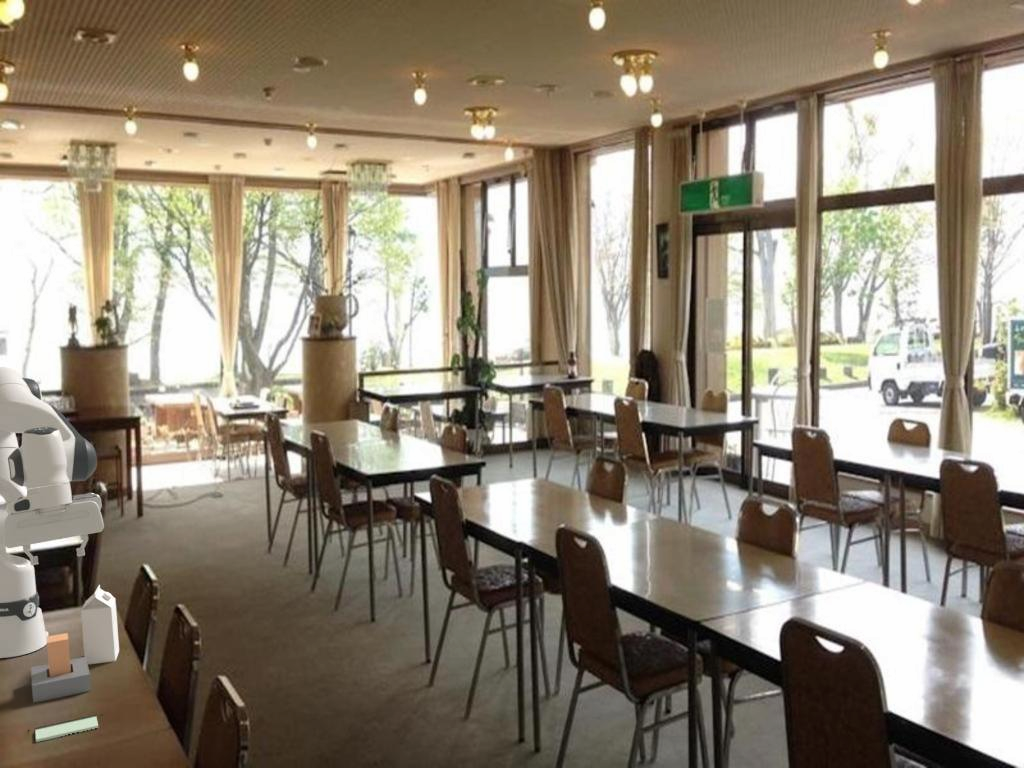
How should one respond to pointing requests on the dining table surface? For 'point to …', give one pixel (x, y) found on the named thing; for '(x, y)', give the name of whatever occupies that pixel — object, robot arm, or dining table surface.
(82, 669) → the holder
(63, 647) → the block
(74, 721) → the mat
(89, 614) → the milk carton
